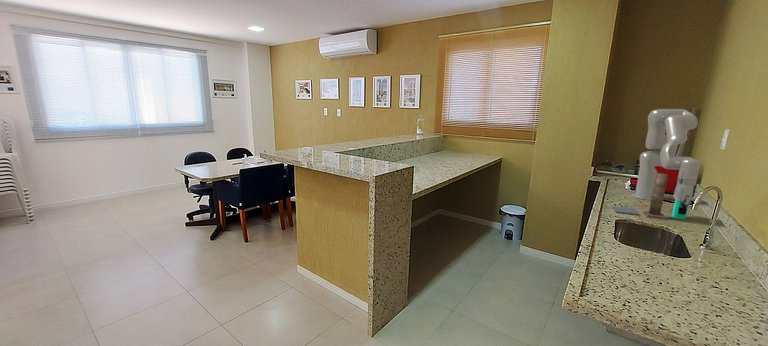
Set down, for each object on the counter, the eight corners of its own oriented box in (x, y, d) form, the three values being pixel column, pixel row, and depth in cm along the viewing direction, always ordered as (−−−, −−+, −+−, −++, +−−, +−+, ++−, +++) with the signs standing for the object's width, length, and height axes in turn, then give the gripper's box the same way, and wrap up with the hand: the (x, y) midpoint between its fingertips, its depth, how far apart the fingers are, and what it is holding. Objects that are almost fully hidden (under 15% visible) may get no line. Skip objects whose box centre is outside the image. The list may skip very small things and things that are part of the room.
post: (643, 212, 186) (650, 172, 180) (660, 214, 182) (668, 173, 177) (647, 217, 179) (655, 175, 173) (665, 219, 175) (674, 176, 170)
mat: (612, 207, 196) (612, 205, 195) (633, 209, 191) (634, 208, 191) (615, 212, 186) (616, 211, 186) (638, 215, 181) (639, 214, 181)
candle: (688, 219, 175) (693, 198, 172) (677, 219, 175) (682, 198, 173) (679, 215, 181) (683, 195, 178) (668, 215, 181) (672, 195, 178)
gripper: (671, 177, 182) (665, 206, 187) (683, 184, 168) (676, 216, 172) (688, 178, 179) (682, 208, 184) (702, 186, 164) (695, 218, 169)
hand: (679, 212), depth 178 cm, fingers closed on candle, 4 cm apart
